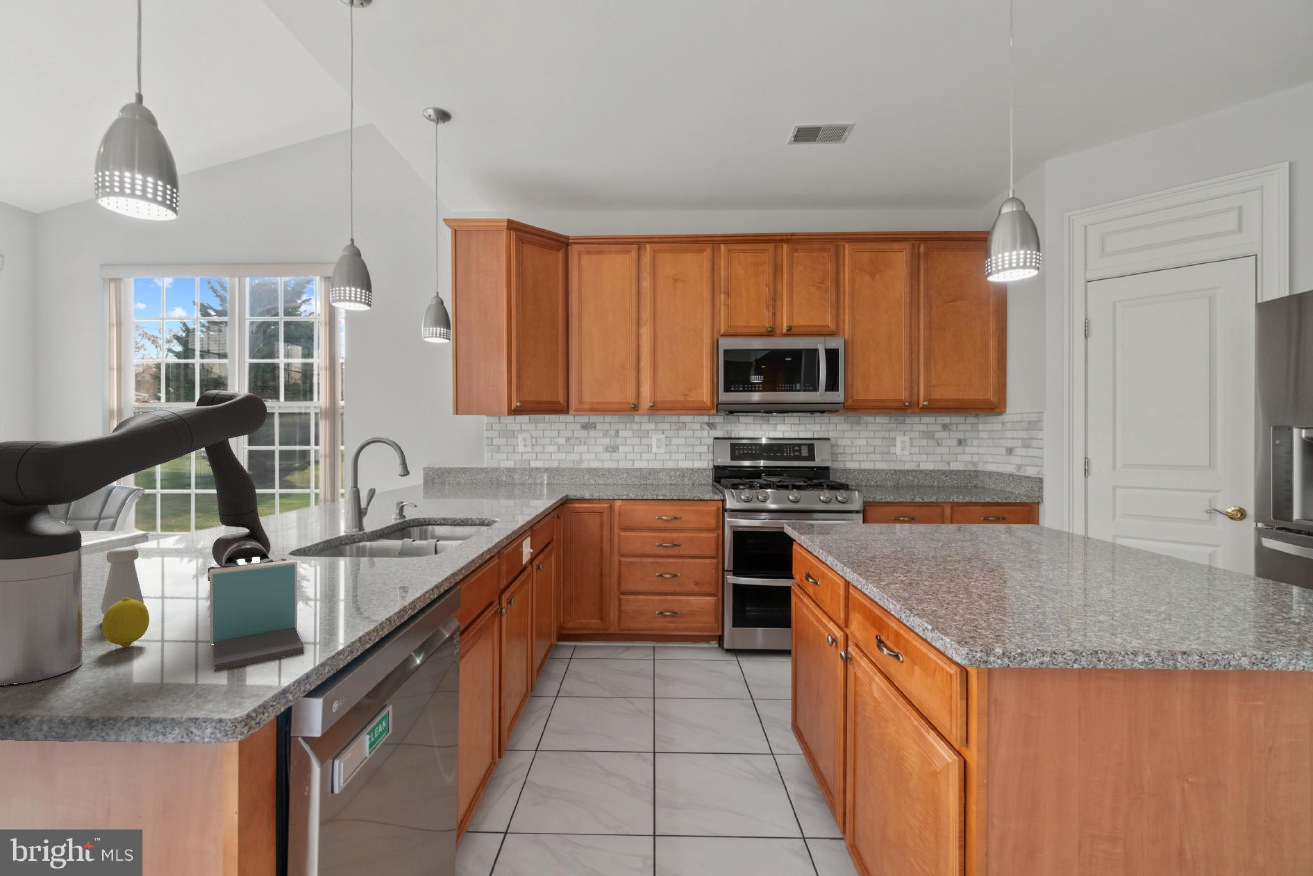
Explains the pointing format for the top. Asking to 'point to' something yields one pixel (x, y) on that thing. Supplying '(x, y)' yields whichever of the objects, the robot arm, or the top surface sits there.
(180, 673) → the top surface
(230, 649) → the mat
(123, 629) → the lemon
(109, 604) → the salt shaker
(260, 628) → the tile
